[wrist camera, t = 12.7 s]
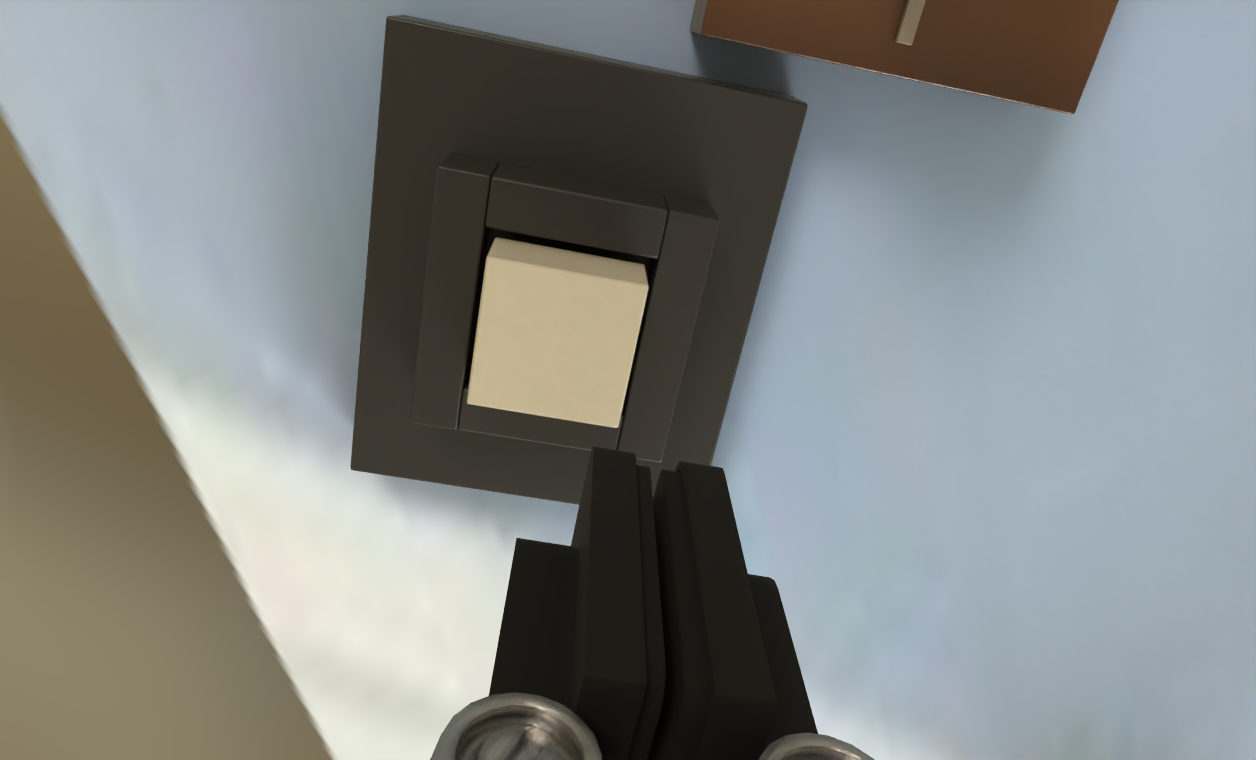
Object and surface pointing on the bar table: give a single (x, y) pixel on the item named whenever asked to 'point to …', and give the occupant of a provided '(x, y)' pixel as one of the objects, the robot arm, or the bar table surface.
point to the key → (556, 332)
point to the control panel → (932, 40)
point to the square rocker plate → (557, 245)
